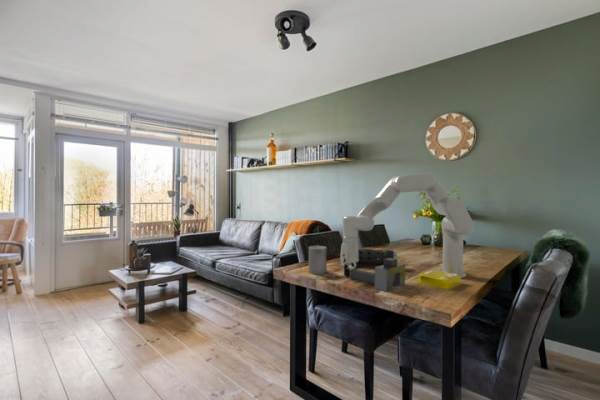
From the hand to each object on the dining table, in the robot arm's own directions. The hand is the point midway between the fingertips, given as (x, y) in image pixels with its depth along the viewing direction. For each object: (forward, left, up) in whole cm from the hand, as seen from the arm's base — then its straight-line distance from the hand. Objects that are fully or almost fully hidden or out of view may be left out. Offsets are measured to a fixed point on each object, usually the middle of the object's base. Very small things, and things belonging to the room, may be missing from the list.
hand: (349, 275), depth 158 cm
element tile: (-23, +36, -1) cm, 43 cm away
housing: (0, +23, -1) cm, 23 cm away
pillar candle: (+6, -17, -1) cm, 18 cm away
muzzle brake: (-27, -5, -1) cm, 28 cm away
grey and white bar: (0, +7, -1) cm, 7 cm away
